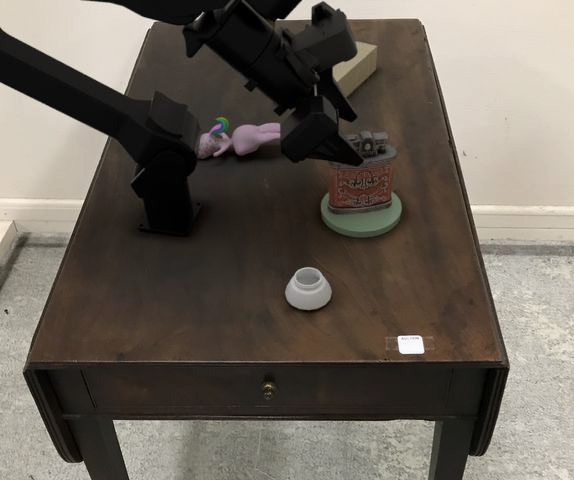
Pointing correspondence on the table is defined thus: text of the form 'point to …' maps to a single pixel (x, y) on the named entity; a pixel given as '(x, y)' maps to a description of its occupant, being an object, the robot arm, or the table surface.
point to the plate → (363, 220)
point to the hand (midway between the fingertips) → (357, 140)
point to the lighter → (363, 177)
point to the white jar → (308, 289)
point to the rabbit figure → (237, 138)
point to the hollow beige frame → (356, 68)
